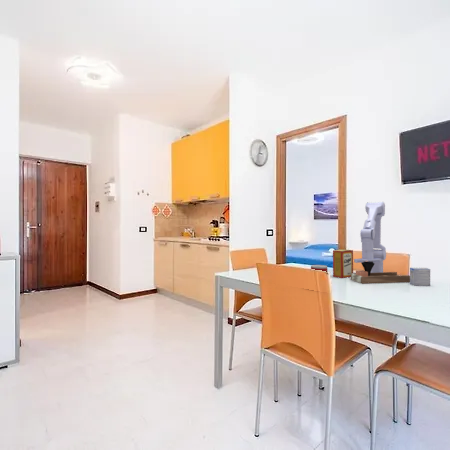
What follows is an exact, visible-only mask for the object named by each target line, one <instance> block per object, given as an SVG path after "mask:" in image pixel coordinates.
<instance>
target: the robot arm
mask: <svg viewBox="0 0 450 450" xmlns="http://www.w3.org/2000/svg"><path fill="white" fill-rule="evenodd" d="M364 208H365V212H366V214H367V219H365V220H364V223H363V228H362V229H361V230H360V234H359V235H360V236H359V237H360V243H361V258H353V263H356V264H358V263H359V264H361V266H362V268H363V271H367V272H368V276H370V273H378V272H384V261H385V260H386V259H387V250H386V247H385V246H384V245H383V244H381V237H382V235H381V233H382V231H381V230H382V227H381V225H382V224H381V223H382V218H383V217H384V216H385V214H386V203H385V202H384V201H377V202H376V201H375V202H372V201H371V202H366V203H365V207H364Z"/></svg>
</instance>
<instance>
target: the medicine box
mask: <svg viewBox="0 0 450 450" xmlns="http://www.w3.org/2000/svg"><path fill="white" fill-rule="evenodd" d="M409 275H410V282H409V284H410V285H411V286H413V285H414V286H413V287H417V286H418V287H419V286H420V287H421V286H422V287H424V286H426V287H427V286H429V287H431V269H430V268H429V267H410V268H409Z"/></svg>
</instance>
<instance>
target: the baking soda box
mask: <svg viewBox="0 0 450 450" xmlns="http://www.w3.org/2000/svg"><path fill="white" fill-rule="evenodd" d="M351 273H354V250H352V249H334V250H332V276H333V277H334V278H338V277H339V278H340V279H345V278H346V279H348V278H351ZM333 277H332V278H333ZM347 277H348V278H347ZM339 278H338V279H339Z"/></svg>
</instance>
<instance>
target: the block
mask: <svg viewBox="0 0 450 450" xmlns="http://www.w3.org/2000/svg"><path fill="white" fill-rule="evenodd" d="M355 273H356V275H359V276H362V277H368V272H367V271H365V270H355Z"/></svg>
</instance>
